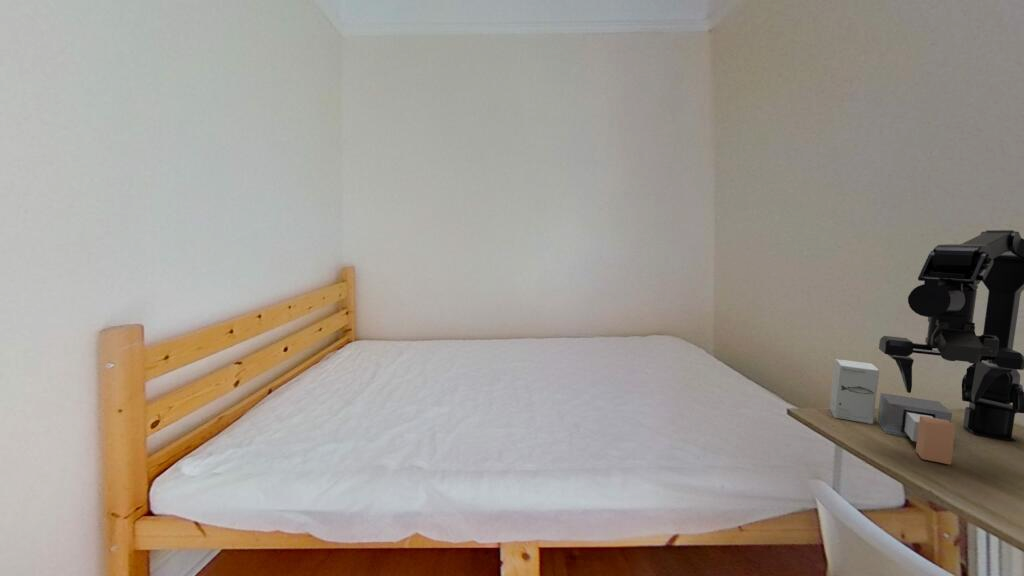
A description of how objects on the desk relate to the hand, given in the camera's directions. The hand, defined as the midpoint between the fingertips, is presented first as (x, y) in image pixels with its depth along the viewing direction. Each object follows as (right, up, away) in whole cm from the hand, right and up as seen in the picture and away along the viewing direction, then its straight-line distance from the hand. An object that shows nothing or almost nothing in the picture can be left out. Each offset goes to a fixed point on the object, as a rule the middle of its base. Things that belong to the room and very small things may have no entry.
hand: (940, 396), depth 85 cm
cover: (+1, -11, +4) cm, 12 cm away
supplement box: (-1, -10, +22) cm, 24 cm away
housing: (+6, -11, +13) cm, 18 cm away
